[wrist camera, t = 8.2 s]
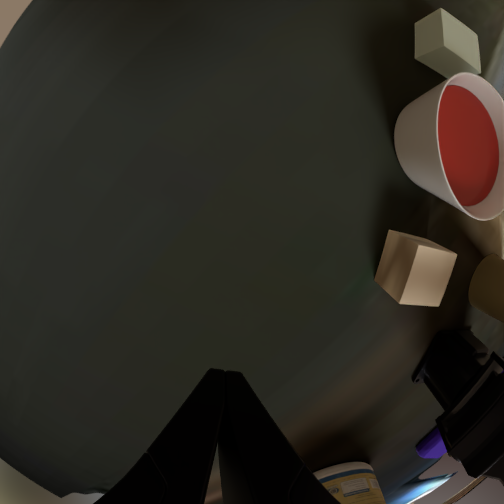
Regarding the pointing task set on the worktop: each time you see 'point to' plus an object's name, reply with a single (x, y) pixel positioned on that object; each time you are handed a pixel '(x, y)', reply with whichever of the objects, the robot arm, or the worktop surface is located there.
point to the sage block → (446, 44)
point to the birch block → (414, 269)
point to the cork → (488, 287)
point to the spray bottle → (432, 445)
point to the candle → (456, 144)
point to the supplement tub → (351, 483)
